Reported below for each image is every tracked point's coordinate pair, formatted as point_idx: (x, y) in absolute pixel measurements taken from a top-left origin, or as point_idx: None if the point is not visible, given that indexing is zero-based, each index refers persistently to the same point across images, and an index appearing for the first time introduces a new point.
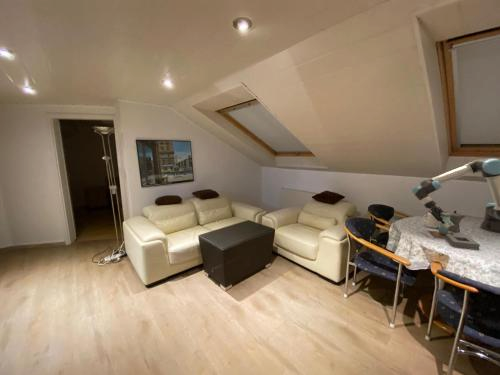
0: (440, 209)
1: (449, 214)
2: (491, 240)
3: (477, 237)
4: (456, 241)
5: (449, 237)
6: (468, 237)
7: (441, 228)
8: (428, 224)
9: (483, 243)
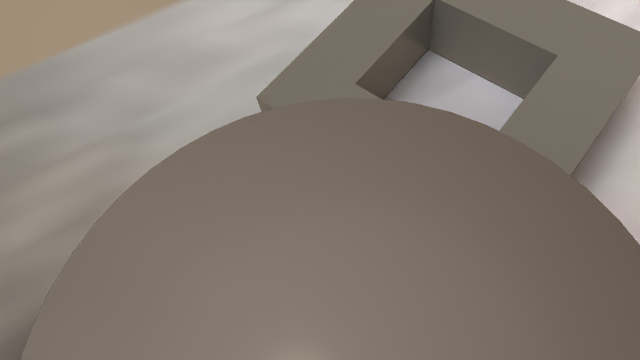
0: None
1: (336, 127)
2: (10, 97)
3: (19, 193)
4: (614, 38)
5: (578, 156)
6: (301, 84)
7: None
8: None
9: (185, 70)
